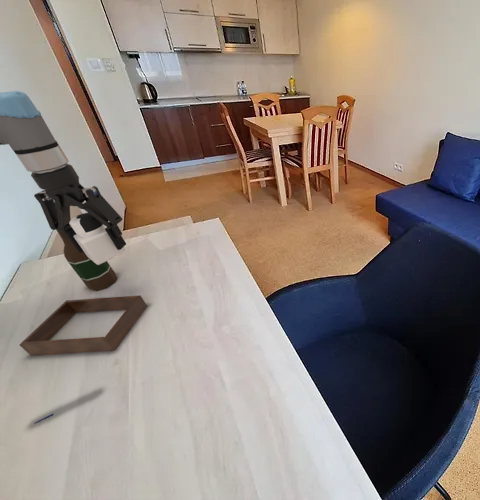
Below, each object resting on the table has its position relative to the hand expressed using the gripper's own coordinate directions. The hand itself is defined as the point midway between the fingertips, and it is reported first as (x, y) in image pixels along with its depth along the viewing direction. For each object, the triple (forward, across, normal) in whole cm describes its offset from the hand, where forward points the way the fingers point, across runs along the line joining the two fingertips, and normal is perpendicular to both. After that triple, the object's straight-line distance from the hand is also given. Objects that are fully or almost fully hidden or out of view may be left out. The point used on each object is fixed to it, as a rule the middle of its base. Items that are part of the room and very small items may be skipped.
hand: (103, 248), depth 82 cm
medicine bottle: (+2, 0, 0) cm, 2 cm away
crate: (+16, +1, +15) cm, 22 cm away
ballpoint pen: (+16, -8, +36) cm, 40 cm away
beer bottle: (+16, +12, -5) cm, 21 cm away
